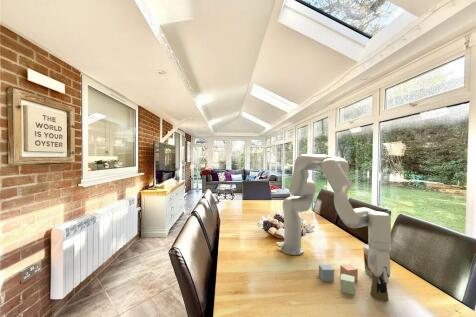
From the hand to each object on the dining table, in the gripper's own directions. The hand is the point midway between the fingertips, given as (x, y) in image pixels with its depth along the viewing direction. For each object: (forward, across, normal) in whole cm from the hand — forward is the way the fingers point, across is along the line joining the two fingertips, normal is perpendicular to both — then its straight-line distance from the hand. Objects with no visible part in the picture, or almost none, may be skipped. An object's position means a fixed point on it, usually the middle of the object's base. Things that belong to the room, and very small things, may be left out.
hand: (379, 290), depth 89 cm
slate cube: (+2, -10, -18) cm, 21 cm away
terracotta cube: (+2, -12, -8) cm, 15 cm away
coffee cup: (+3, -19, +5) cm, 20 cm away
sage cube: (+2, -2, -11) cm, 11 cm away
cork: (+2, 0, 0) cm, 2 cm away
